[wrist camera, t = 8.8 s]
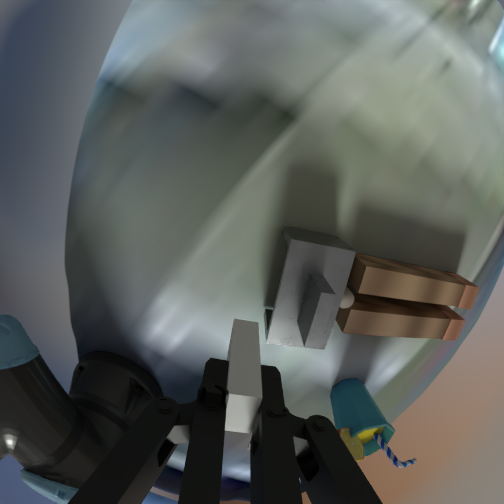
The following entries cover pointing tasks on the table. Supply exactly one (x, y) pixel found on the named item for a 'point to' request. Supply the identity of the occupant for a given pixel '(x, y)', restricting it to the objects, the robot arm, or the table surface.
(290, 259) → the collar
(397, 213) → the table surface
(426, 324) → the base
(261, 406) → the robot arm
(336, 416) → the cup
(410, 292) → the hinged jaw
